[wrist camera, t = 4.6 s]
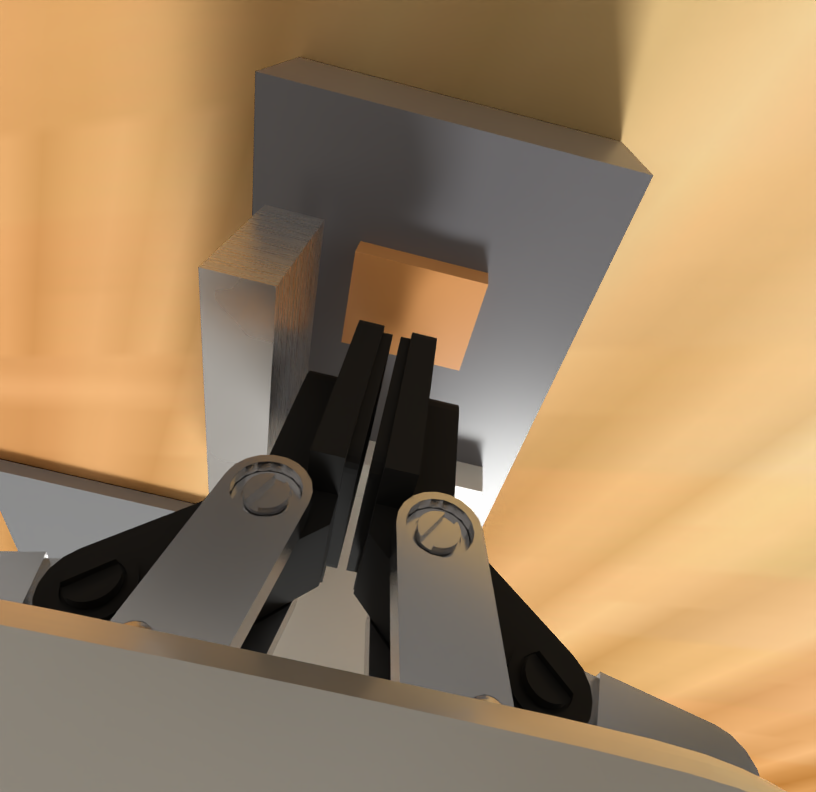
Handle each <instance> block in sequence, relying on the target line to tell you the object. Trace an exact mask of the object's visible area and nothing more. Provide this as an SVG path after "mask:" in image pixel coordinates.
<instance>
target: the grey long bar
mask: <svg viewBox="0 0 816 792" xmlns="http://www.w3.org/2000/svg"><path fill="white" fill-rule="evenodd" d="M323 229H324V219H320V218H316V217H312V216H308V215H304V214H300V213H296V212H292V211H288V210H284V209H280V208H276V207H272V206H268V205H264V206H263V207H262V208H261V209H260V210H259V211H257V212H256V213H255V214H254V215H253V216H252V217H251V218H250V219H249V220H248V221H247V222H246V223H245V224H244V225H243V226H242V227H241V228H239V229H238V230H237V231H236V232H235V233H234V234H233V235H232V236H231V237H230V238H229V239H228V240H227V241H226V242H225V243H224V244H223V245H221V246H220V247H219V248H218V249H217V250H216V251H215V252H214V253H213V254H212V255H211V256H210V257H209V258H208V259H207V260H206V261H204V262H203V263H202V264H201V265H200V266H199V267H198V268H199V290H200V312H201V333H202V355H203V376H204V398H205V419H206V441H207V462H208V484H209V493H210V492H211V491H212V489H213V488H214V487H215V486H216V484H217V483H218V482H219V480H220V479H221V478H222V477H223V475H224V474H225V473H226V472H227V471H228V470H229V469H230V468H231V467H232V466H233V465H234V464H236V463H238V462H240V461H242V460H244V459H246V458H249V457H253V456H258V455H270V452H271V450H272V448H273V446H274V444H275V442H276V440H277V437H278V435H279V433H280V431H281V429H282V427H283V424H284V422H285V420H286V418H287V416H288V414H289V411H290V409H291V407H292V405H293V403H294V401H295V399H296V396H297V394H298V392H299V390H300V388H301V386H302V383H303V381H304V379H305V377H306V375H307V373H308V365H309V355H310V346H311V337H312V328H313V319H314V310H315V301H316V292H317V283H318V274H319V265H320V256H321V247H322V238H323Z"/></svg>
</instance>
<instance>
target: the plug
mask: <svg viewBox="0 0 816 792" xmlns="http://www.w3.org/2000/svg"><path fill="white" fill-rule="evenodd" d="M375 444H376V442H374V441H370V440H369V444H368V448H367V452H366V456H365V460H364V464H363V468H362V472H361V476H360V480H359V484H358V488H357V492H356V496H355V500H354V504H353V508H352V512H351V516H350V520H349V524H348V528H347V532H346V536H345V539H344V543H343V547H342V551H341V555H340V559H339V563H338V567H337V568H333V567H329V566H326V570H325V574H324V577H323V581H322V583H321V582H320V584H319V586H318V587H316V588H314V589H313V590H311V591H309V592H307V593H305V594H303V595H302V596H300V597H298V600H297V603H296V606H295V609H294V611H293V613H292V615H291V617H290V619H289V621H288V623H287V626H286V628H285V630H284V632H283V634H282V636H281V638H280V640H279V642H278V644H277V646H276V648H275V650H274V653H273V655H274V656H278V657H283V658H288V659H293V660H297V661H302V662H307V663H311V664H316V665H321V666H325V667H330V668H335V669H339V670H344V671H349V672H353V673H358V674H363V675H364V652H365V622H366V617H367V612H366V611H365V609H364V608H363V607H362V605H361V604H360V602H359V601H358V599H357V598H356V597H355V595H354V594H353V593H354V590H353V588H354V583H355V579H356V574H357V573H356V572H352V571H347V570H346V569H347V564H348V560H349V556H350V551H351V547H352V543H353V538H354V534H355V530H356V525H357V521H358V517H359V513H360V508H361V504H362V500H363V495H364V491H365V487H366V482H367V478H368V474H369V470H370V465H371V461H372V457H373V452H374V448H375ZM482 492H483V467H480V466H475V465H471V464H467V463H463V462H459V461H457V462H456V481H455V498H457V499H459V500H461V501H462V502H464V503H465V504H466V505H467V506H468V507H470V508H471V509H472V510H473V512H474V510H475V508H476V505H477V503H478V501H479V499H480V497H481V494H482Z"/></svg>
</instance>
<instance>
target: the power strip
mask: <svg viewBox="0 0 816 792" xmlns="http://www.w3.org/2000/svg"><path fill="white" fill-rule="evenodd" d="M652 177H653V175H652V174H651V173H650V171H649V170H648V169H647V168H646V167H645V166H644V165H643V164H642V163H641V162H640V161H639V160H638V159H637V158H636V157H635V156H634V154H633V153H632V152H631V151H630V150H629V149H628V148H627V147H626V146H625V145H624V144H623V143H622V142H620V141H616V140H612V139H609V138H605V137H601V136H597V135H593V134H590V133H586V132H582V131H578V130H574V129H571V128H567V127H563V126H559V125H555V124H552V123H548V122H544V121H540V120H536V119H533V118H529V117H525V116H521V115H518V114H514V113H510V112H506V111H502V110H499V109H495V108H491V107H487V106H483V105H480V104H476V103H472V102H468V101H464V100H461V99H457V98H453V97H449V96H445V95H442V94H438V93H434V92H430V91H426V90H423V89H419V88H415V87H411V86H407V85H404V84H400V83H396V82H392V81H388V80H385V79H381V78H377V77H373V76H369V75H366V74H362V73H358V72H354V71H350V70H347V69H343V68H339V67H335V66H331V65H328V64H324V63H320V62H316V61H313V60H309V59H305V58H301V57H298V58H295V59H292V60H289V61H286V62H283V63H280V64H276V65H273V66H270V67H267V68H264V69H261V70H258V71H255V115H254V160H253V205H252V216H253V215H254V214H255V213H256V212H257V211H259V210H260V209H261V208H262V207H263V206H264V205H268V206H272V207H276V208H280V209H284V210H288V211H292V212H296V213H300V214H304V215H308V216H312V217H316V218H320V219H324V229H323V238H322V247H321V256H320V265H319V274H318V283H317V292H316V301H315V310H314V319H313V328H312V337H311V346H310V355H309V365H308V372H309V371H310V370H311V371H315V372H319V373H323V374H328V375H332V376H336V377H338V375H339V372H340V370H341V367H342V364H343V362H344V359H345V357H346V354H347V351H348V349H349V346H350V343H351V341H352V338H353V335H354V333H355V330H356V327H357V325H358V322H359V320H363V321H367V322H372V323H376V324H380V325H384V326H385V328H384V333H388V334H393V337H392V342H391V346H390V351H389V355H388V360H387V364H386V369H385V373H384V378H383V383H382V387H381V392H380V396H379V401H378V405H377V410H376V414H375V419H374V423H373V428H372V432H371V436H370V441H374V442H376V440H377V436H378V431H379V427H380V423H381V419H382V415H383V410H384V406H385V402H386V398H387V393H388V389H389V385H390V381H391V377H392V372H393V368H394V364H395V360H396V355H397V351H398V347H399V343H400V339H401V337H405V338H409V339H411V335H412V332H413V333H418V334H422V335H426V336H430V337H434V338H437V344H436V352H435V359H434V367H433V375H432V382H431V390H430V399H434V400H439V401H443V402H447V403H451V404H456V405H458V406H459V425H458V443H457V461H459V462H463V463H467V464H471V465H475V466H480V467H483V492H482V494H481V497H480V499H479V501H478V503H477V505H476V508H475V510H474V513H475V515H476V516H477V517H478V519H479V521H480V523H481V526H483V524H484V522H485V520H486V518H487V516H488V514H489V512H490V510H491V508H492V506H493V504H494V502H495V500H496V497H497V495H498V493H499V491H500V489H501V487H502V485H503V483H504V481H505V479H506V477H507V475H508V473H509V471H510V469H511V467H512V465H513V463H514V460H515V458H516V456H517V454H518V452H519V450H520V448H521V446H522V444H523V442H524V440H525V438H526V436H527V434H528V432H529V430H530V428H531V426H532V423H533V421H534V419H535V417H536V415H537V413H538V411H539V409H540V407H541V405H542V403H543V401H544V399H545V397H546V395H547V393H548V391H549V389H550V386H551V384H552V382H553V380H554V378H555V376H556V374H557V372H558V370H559V368H560V366H561V364H562V362H563V360H564V358H565V356H566V354H567V352H568V349H569V347H570V345H571V343H572V341H573V339H574V337H575V335H576V333H577V331H578V329H579V327H580V325H581V323H582V321H583V319H584V317H585V315H586V312H587V310H588V308H589V306H590V304H591V302H592V300H593V298H594V296H595V294H596V292H597V290H598V288H599V286H600V284H601V282H602V280H603V278H604V275H605V273H606V271H607V269H608V267H609V265H610V263H611V261H612V259H613V257H614V255H615V253H616V251H617V249H618V247H619V245H620V243H621V240H622V238H623V236H624V234H625V232H626V230H627V228H628V226H629V224H630V222H631V220H632V218H633V216H634V214H635V212H636V210H637V208H638V206H639V203H640V201H641V199H642V197H643V195H644V193H645V191H646V189H647V187H648V185H649V183H650V181H651V179H652Z"/></svg>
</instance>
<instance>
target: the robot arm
mask: <svg viewBox="0 0 816 792" xmlns="http://www.w3.org/2000/svg"><path fill="white" fill-rule="evenodd" d="M384 328H385V326H384V325H380V324H376V323H372V322H367V321H363V320H359V322H358V325H357V327H356V330H355V333H354V335H353V338H352V341H351V343H350V346H349V349H348V351H347V354H346V357H345V359H344V362H343V364H342V367H341V370H340V372H339V375H338V377H336V376H332V375H328V374H323V373H319V372H315V371H311V370H310V371H309V372H308V373H307V375H306V377H305V379H304V381H303V383H302V386H301V388H300V390H299V392H298V394H297V396H296V399H295V401H294V403H293V405H292V407H291V409H290V411H289V414H288V416H287V418H286V420H285V422H284V424H283V427H282V429H281V431H280V433H279V435H278V437H277V440H276V442H275V444H274V446H273V448H272V450H271V452H270V455H258V456H253V457H249V458H246V459H244V460H242V461H240V462H238V463H236V464H234V465H233V466H232V467H231V468H230V469H229V470H228V471H227V472H226V473H225V474H224V475H223V477H222V478H221V479H220V480H219V482H218V483H217V484H216V486H215V487H214V488H213V489H212V491H211V492H210V493H209V494H208V496H207V497H206V498H205V500H204V501H201V502H199V503H196V504H194V505H191V506H188V507H186V508H183V509H181V510H178V511H175V512H173V513H170V514H168V515H165V516H163V517H160V518H157V519H155V520H152V521H150V522H147V523H144V524H142V525H139V526H137V527H134V528H131V529H129V530H126V531H124V532H121V533H118V534H116V535H113V536H111V537H108V538H105V539H103V540H100V541H98V542H95V543H92V544H90V545H87V546H85V547H82V548H80V549H78V550H76V551H74V552H72V553H70V554H68V555H66V556H64V557H63V558H48V555H47V553H46V552H14V551H0V792H786V791H785V790H783V789H781V788H779V787H778V786H776V785H774V784H772V783H771V782H769V781H767V780H765V779H763V778H761V777H760V776H759V773H758V770H757V768H756V767H755V765H754V763H753V762H752V760H751V758H750V757H749V755H748V753H747V752H746V750H745V749H744V748H743V747H742V746H741V745H740V744H739V743H738V742H737V741H736V740H735V739H734V738H733V737H732V736H731V735H730V734H729V733H727V732H725V731H724V730H722V729H721V728H719V727H718V726H716V725H715V724H712V723H710V722H708V721H706V720H704V719H701V718H699V717H697V716H695V715H693V714H691V713H688V712H686V711H684V710H682V709H680V708H678V707H675V706H673V705H671V704H669V703H667V702H665V701H662V700H660V699H658V698H656V697H654V696H652V695H649V694H647V693H645V692H643V691H641V690H639V689H636V688H634V687H632V686H630V685H628V684H625V683H623V682H621V681H619V680H617V679H615V678H612V677H610V676H608V675H606V674H604V673H602V672H600V673H599V674H598V675H597V676H596V677H595V676H593V675H591V674H589V673H587V672H585V671H584V670H583V668H582V667H581V666H580V664H579V663H578V661H577V660H576V659H575V657H574V656H573V655H572V654H571V653H570V651H569V650H568V649H567V648H566V647H565V646H564V645H563V644H562V643H561V642H560V641H559V639H558V638H557V637H556V636H555V635H554V634H553V633H552V632H551V631H550V630H549V628H548V627H547V626H546V625H545V624H544V623H543V622H542V621H541V620H540V619H539V617H538V616H537V615H536V614H535V613H534V612H533V611H532V610H531V609H530V608H529V606H528V605H527V604H526V603H525V602H524V601H523V600H522V599H521V598H520V597H519V595H518V594H517V593H516V592H515V591H514V590H513V589H512V588H511V587H510V586H509V585H508V583H507V582H506V581H505V580H504V579H503V578H502V577H501V576H500V575H499V574H498V572H497V571H496V570H495V569H494V568H493V567H492V566H491V565H490V564H489V562H488V556H487V550H486V545H485V539H484V533H483V529H482V526H481V523H480V521H479V519H478V517H477V516H476V515H475V513H474V512H473V510H472V509H471V508H470V507H468V506H467V505H466V504H465V503H464V502H462V501H461V500H459V499H457V498H455V481H456V462H457V443H458V425H459V406H458V405H456V404H451V403H447V402H443V401H439V400H434V399H430V390H431V382H432V375H433V367H434V359H435V352H436V344H437V338H434V337H430V336H426V335H422V334H418V333H413V332H412V335H411V339H409V338H405V337H401V339H400V343H399V347H398V351H397V355H396V360H395V364H394V368H393V372H392V377H391V381H390V385H389V389H388V393H387V398H386V402H385V406H384V410H383V415H382V419H381V423H380V427H379V431H378V436H377V440H376V444H375V448H374V452H373V457H372V461H371V465H370V470H369V474H368V478H367V482H366V487H365V491H364V495H363V500H362V504H361V508H360V513H359V517H358V521H357V525H356V530H355V534H354V538H353V543H352V547H351V551H350V556H349V560H348V564H347V569H346V570H347V571H352V572H356V573H357V574H356V579H355V583H354V588H353V590H354V593H353V594H354V595H355V597H356V598H357V599H358V601H359V602H360V604H361V605H362V607H363V608H364V609H365V611H366V612H367V617H366V622H365V652H364V675H363V674H358V673H353V672H349V671H344V670H339V669H335V668H330V667H325V666H321V665H316V664H311V663H307V662H302V661H297V660H293V659H288V658H283V657H278V656H274V655H273V653H274V650H275V648H276V646H277V644H278V642H279V640H280V638H281V636H282V634H283V632H284V630H285V628H286V626H287V623H288V621H289V619H290V617H291V615H292V613H293V611H294V609H295V606H296V603H297V600H298V597H300V596H302V595H303V594H305V593H307V592H309V591H311V590H313V589H314V588H316V587H318V586H319V584H320V582H321V583H322V581H323V577H324V574H325V570H326V566H329V567H333V568H337V567H338V563H339V559H340V555H341V551H342V547H343V543H344V539H345V536H346V532H347V528H348V524H349V520H350V516H351V512H352V508H353V504H354V500H355V496H356V492H357V488H358V484H359V480H360V476H361V472H362V468H363V464H364V460H365V456H366V452H367V448H368V444H369V440H370V436H371V432H372V428H373V423H374V419H375V414H376V410H377V405H378V401H379V396H380V392H381V387H382V383H383V378H384V373H385V369H386V364H387V360H388V355H389V351H390V346H391V342H392V337H393V334H388V333H384Z"/></svg>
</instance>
